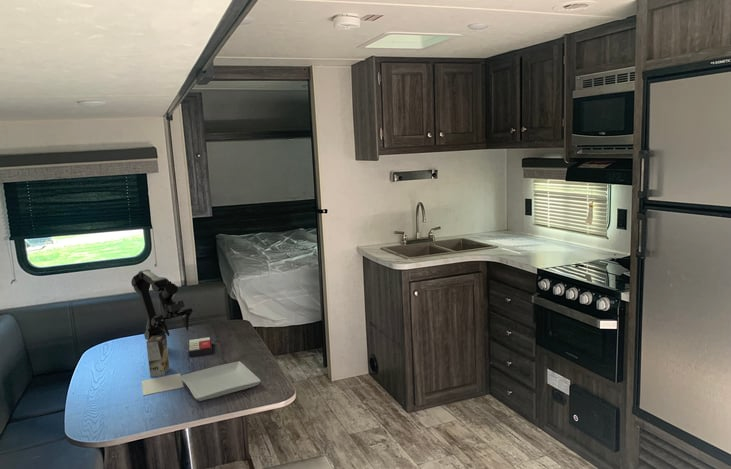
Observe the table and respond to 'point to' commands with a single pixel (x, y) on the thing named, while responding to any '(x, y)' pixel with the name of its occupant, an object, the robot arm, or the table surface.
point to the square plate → (219, 380)
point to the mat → (161, 384)
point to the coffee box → (158, 355)
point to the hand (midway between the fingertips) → (178, 333)
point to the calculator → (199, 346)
